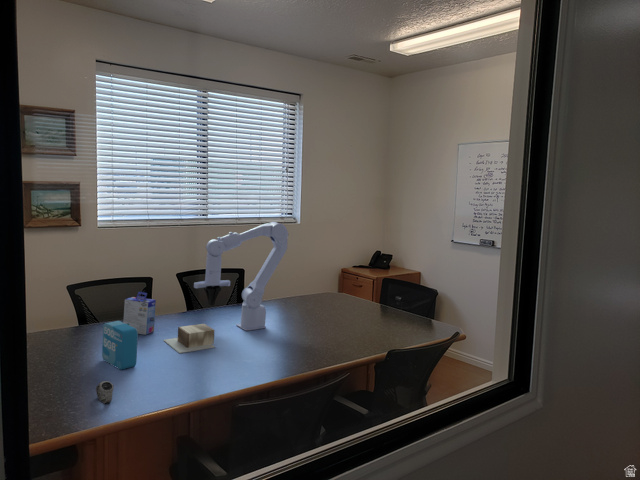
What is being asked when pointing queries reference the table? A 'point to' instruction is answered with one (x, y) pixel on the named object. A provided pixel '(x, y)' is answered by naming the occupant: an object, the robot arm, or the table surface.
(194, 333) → the ash block
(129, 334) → the data package
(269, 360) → the table surface
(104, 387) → the grey stone mug
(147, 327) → the ink cartridge box
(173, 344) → the mat
